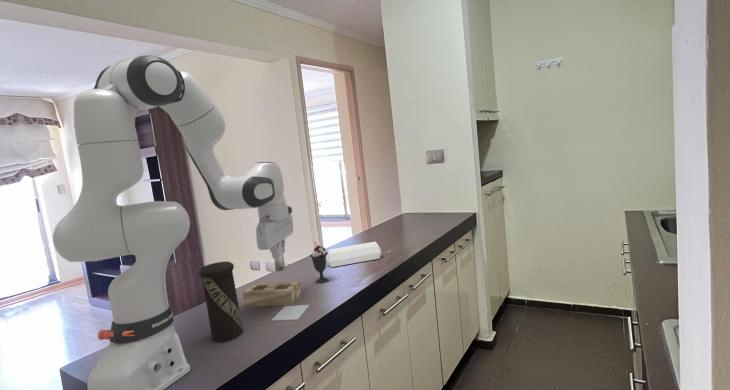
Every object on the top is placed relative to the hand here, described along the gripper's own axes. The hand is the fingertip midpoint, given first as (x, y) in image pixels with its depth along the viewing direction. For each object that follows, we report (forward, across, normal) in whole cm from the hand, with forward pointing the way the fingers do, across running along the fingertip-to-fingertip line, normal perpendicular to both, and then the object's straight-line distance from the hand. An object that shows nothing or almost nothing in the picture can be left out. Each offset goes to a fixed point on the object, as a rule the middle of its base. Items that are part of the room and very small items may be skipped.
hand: (279, 255), depth 124 cm
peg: (+5, 0, 0) cm, 5 cm away
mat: (+15, -11, -6) cm, 19 cm away
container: (+15, -24, +7) cm, 29 cm away
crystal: (+16, +40, -14) cm, 46 cm away
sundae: (+16, +17, -7) cm, 24 cm away
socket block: (+15, -1, +4) cm, 16 cm away
